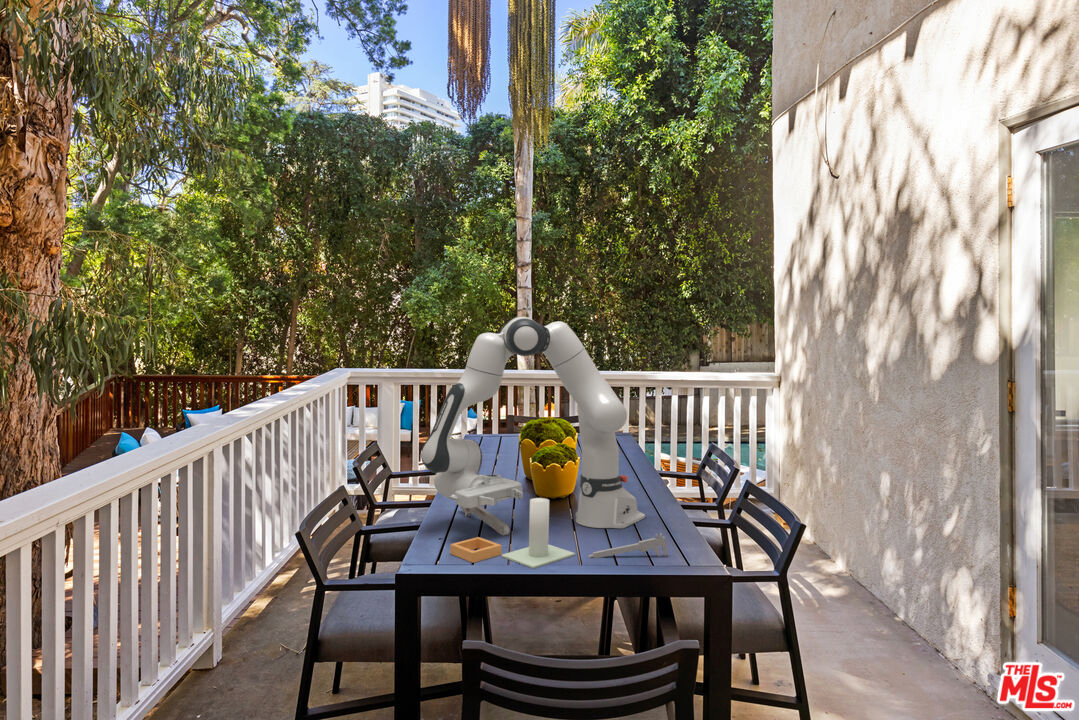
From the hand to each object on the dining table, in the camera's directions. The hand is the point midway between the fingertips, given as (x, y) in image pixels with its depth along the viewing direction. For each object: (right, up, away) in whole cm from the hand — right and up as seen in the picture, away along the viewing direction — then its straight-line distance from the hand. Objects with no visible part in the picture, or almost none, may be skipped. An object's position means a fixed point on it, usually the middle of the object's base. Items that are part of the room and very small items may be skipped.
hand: (508, 498), depth 196 cm
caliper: (+31, -14, -9) cm, 35 cm away
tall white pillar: (+8, -12, -9) cm, 18 cm away
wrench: (-9, -11, +20) cm, 25 cm away
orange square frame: (-8, -13, -8) cm, 17 cm away
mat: (+8, -13, -9) cm, 18 cm away
